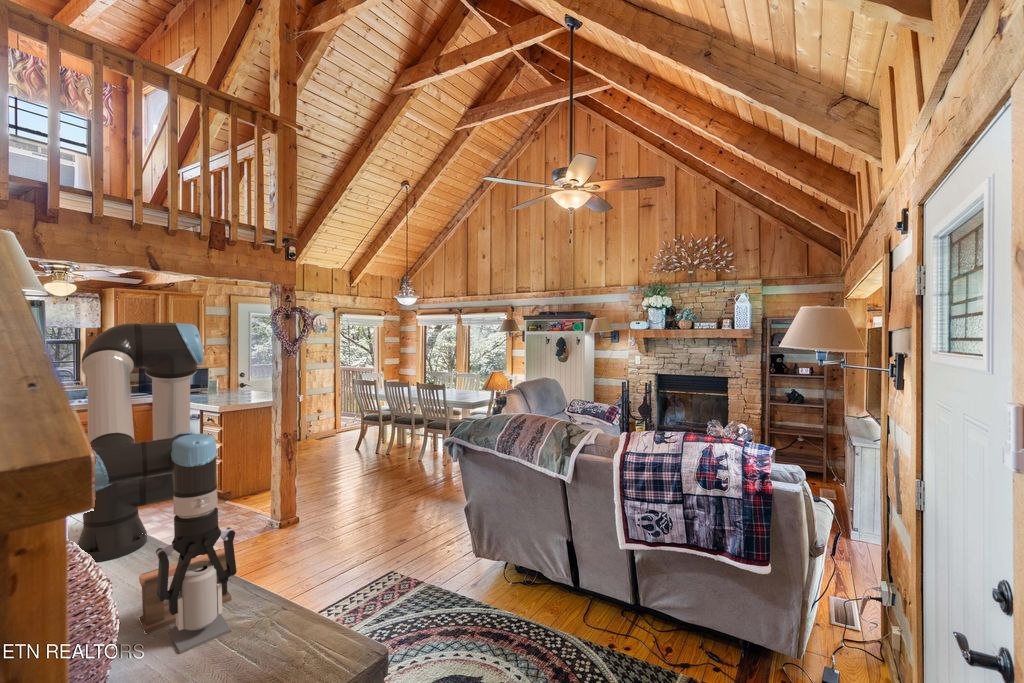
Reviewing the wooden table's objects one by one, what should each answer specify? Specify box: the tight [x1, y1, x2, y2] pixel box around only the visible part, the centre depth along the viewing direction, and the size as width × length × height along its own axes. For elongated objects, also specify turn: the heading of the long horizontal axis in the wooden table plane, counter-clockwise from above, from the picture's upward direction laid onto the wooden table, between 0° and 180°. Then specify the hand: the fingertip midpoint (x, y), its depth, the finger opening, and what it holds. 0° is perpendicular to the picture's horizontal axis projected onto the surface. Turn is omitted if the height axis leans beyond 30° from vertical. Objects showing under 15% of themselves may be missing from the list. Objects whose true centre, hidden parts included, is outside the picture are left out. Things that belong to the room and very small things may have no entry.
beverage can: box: [179, 561, 218, 631], centre depth 98 cm, size 6×6×12 cm
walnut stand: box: [138, 548, 233, 634], centre depth 105 cm, size 6×16×11 cm, turn 138°
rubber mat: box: [168, 613, 232, 654], centre depth 98 cm, size 9×9×1 cm
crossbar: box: [138, 548, 225, 587], centre depth 104 cm, size 2×16×2 cm, turn 137°
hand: (199, 618), depth 98 cm, fingers closed on beverage can, 6 cm apart
